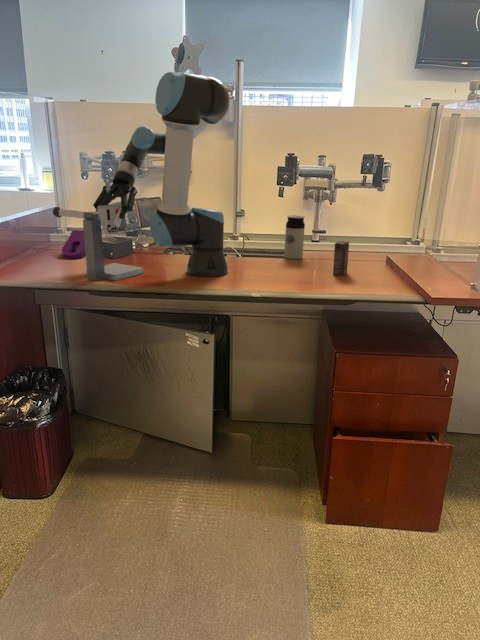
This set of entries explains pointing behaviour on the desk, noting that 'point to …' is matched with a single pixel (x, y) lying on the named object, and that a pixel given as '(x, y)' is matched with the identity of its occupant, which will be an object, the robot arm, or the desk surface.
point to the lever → (75, 214)
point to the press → (95, 256)
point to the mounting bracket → (74, 245)
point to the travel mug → (294, 237)
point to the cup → (109, 218)
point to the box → (341, 258)
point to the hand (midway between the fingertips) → (105, 224)
